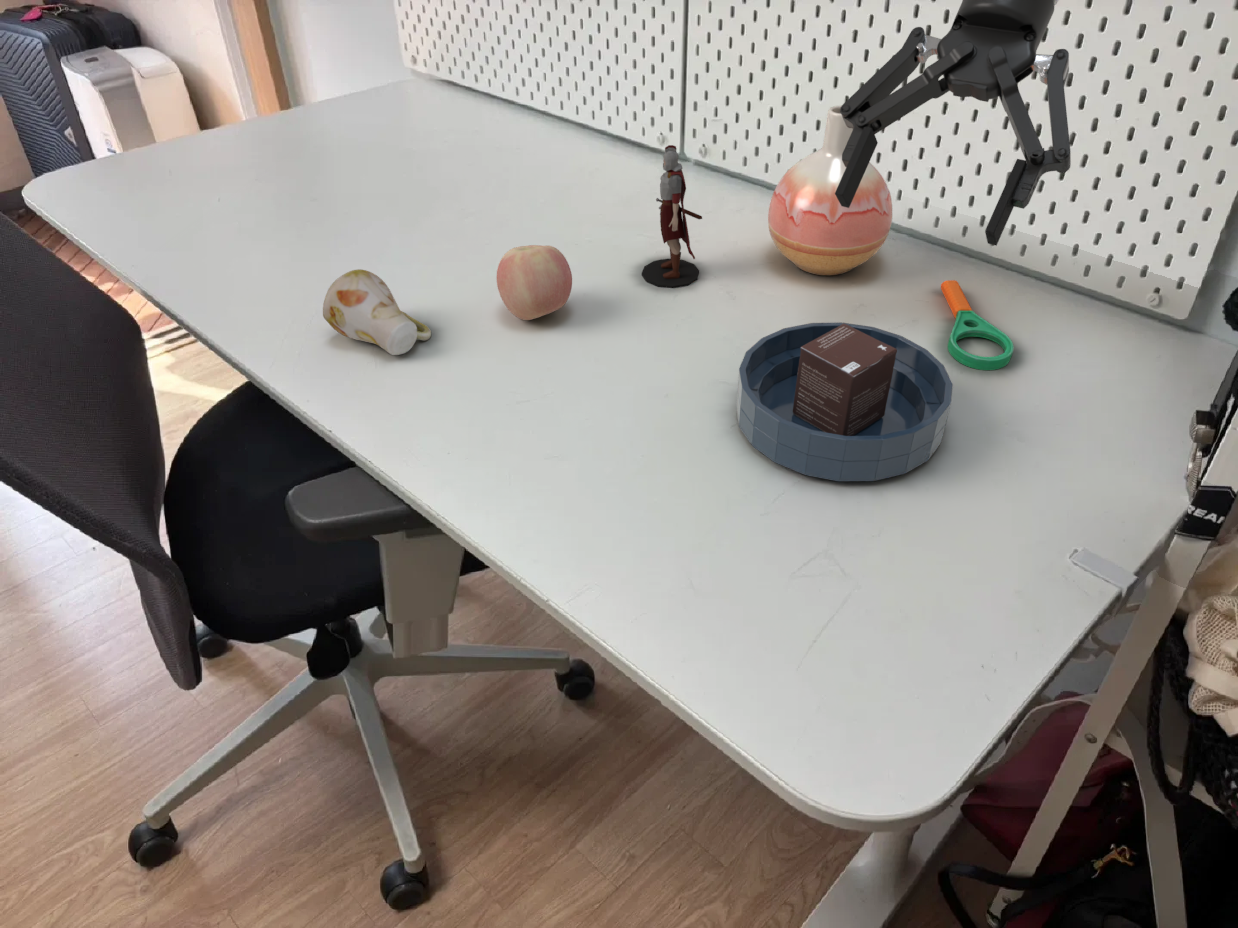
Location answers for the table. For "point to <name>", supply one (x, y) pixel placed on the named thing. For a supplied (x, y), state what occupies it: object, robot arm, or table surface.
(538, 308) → the apple
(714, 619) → the table surface
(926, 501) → the table surface
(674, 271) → the figurine
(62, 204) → the table surface
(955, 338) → the magnifying glass
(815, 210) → the vase
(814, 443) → the bowl
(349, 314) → the mug
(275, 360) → the table surface
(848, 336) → the box
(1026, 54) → the robot arm
